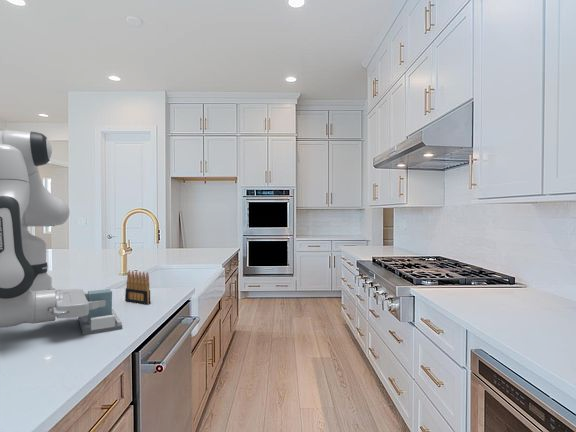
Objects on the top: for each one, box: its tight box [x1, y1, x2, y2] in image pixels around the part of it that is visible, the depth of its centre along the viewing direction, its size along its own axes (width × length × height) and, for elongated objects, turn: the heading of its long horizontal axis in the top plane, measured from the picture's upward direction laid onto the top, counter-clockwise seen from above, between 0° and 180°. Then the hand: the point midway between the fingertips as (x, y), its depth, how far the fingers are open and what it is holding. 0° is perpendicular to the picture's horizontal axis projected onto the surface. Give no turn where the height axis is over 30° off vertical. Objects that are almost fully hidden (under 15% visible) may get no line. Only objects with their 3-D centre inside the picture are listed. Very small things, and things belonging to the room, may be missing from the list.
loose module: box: [87, 288, 113, 325], centre depth 105 cm, size 4×6×9 cm
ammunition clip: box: [124, 270, 151, 306], centre depth 130 cm, size 11×2×12 cm, turn 69°
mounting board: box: [77, 308, 123, 336], centre depth 105 cm, size 16×10×4 cm, turn 35°
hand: (103, 299), depth 105 cm, fingers open, 8 cm apart
